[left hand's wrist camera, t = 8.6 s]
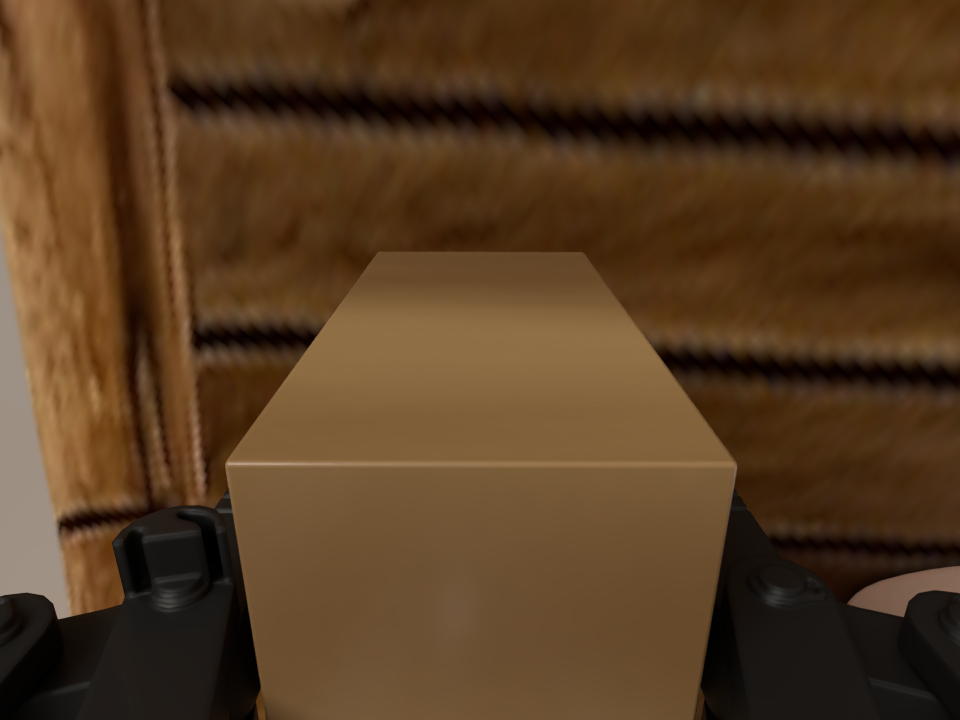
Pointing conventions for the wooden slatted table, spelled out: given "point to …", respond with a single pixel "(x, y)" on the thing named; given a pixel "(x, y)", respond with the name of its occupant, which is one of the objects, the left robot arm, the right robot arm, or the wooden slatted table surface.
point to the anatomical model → (905, 589)
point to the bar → (480, 504)
